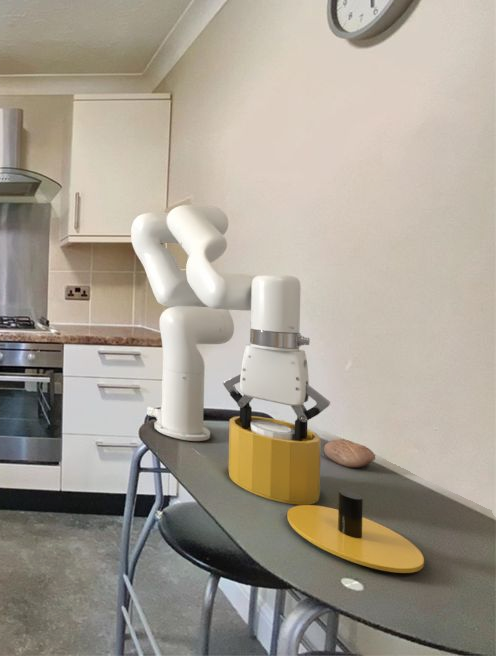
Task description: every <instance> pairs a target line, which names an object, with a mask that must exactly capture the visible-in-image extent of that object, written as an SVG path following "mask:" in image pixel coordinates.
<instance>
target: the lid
mask: <svg viewBox="0 0 496 656" xmlns="http://www.w3.org/2000/svg"><path fill="white" fill-rule="evenodd" d="M363 498H364V497H362V496H361V495H360V494H358V493H356V492H352V491H349V490H345V489H341V490H339V491H338V504H337V505H338V508H333V507H327V506H322V505H314V504H309V505H296V506H293V507H291V508H289V509H288V511H287V513H286V514H287V515H286V516H287V517H286V519H287V521H288V523H289V525H290V526H291V528H292V529H293V530H294V531H295V532H296V533H297V534H298V535H299V536H301V537H302V538H303V539H305V540H306V541H308V542H309V543H311V544H313V545H314V546H316V547H318V548H319V549H321V550H323V551H325V552H327V553H330V554H332V555H334V556H336V557H339V558H341V559H343V560H346V561H348V562H351V563H354V564H357V565H360V566H364V567H367V568H370V569H374V570H379V571H383V572H389V573H397V574H412V573H417V572H419V571H421V570H422V569H423V568H424V566H425V558H424V555H423V553H422V552H421V551H420V549H419V548H418V547H417V546H416V545H415V544H413V543H412V542H411V541H410V540H409V539H407V538H405V536H402V535H401V534H399V533H397V532H395V531H394V530H392V529H390V528H388V527H386V526H384V525H382V524H380V523H377V522H375V521H373V520H370V519H368V518H366V517H363V515H364V514H363V512H364V511H363V510H364V508H363V506H364V505H363V504H364V502H363V500H364V499H363Z"/></svg>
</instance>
